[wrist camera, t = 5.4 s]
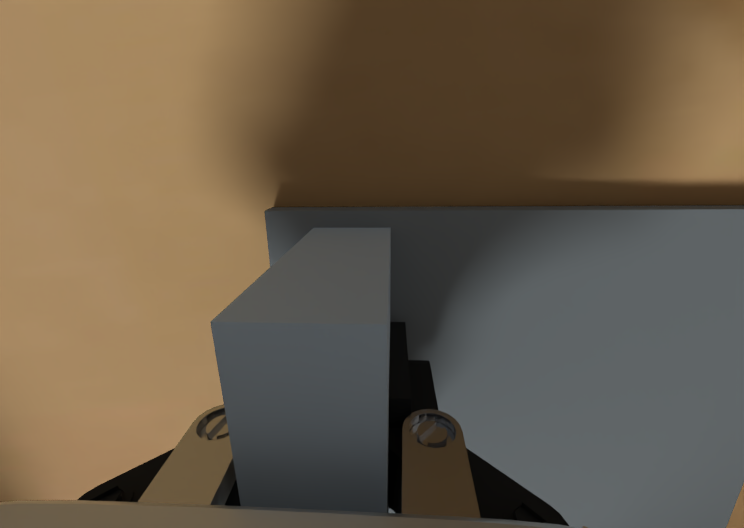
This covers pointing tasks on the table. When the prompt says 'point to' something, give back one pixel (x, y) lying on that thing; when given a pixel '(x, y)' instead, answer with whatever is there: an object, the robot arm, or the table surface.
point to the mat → (577, 346)
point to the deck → (311, 375)
